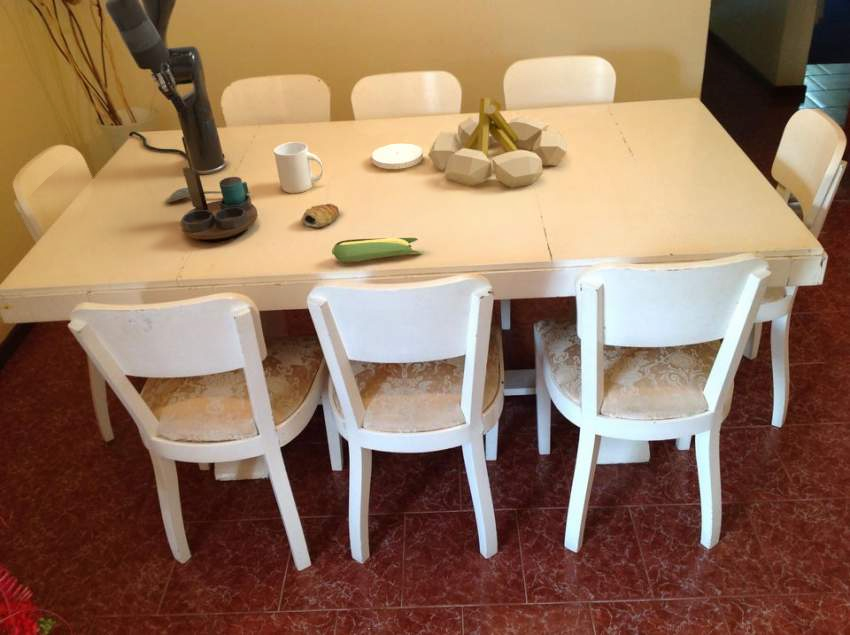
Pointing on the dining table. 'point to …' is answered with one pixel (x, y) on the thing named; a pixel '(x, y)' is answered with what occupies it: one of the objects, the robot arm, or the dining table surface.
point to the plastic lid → (397, 156)
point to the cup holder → (217, 209)
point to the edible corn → (372, 249)
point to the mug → (295, 167)
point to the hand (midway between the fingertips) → (182, 109)
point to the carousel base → (224, 237)
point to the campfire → (516, 134)
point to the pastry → (320, 215)
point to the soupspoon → (185, 193)
